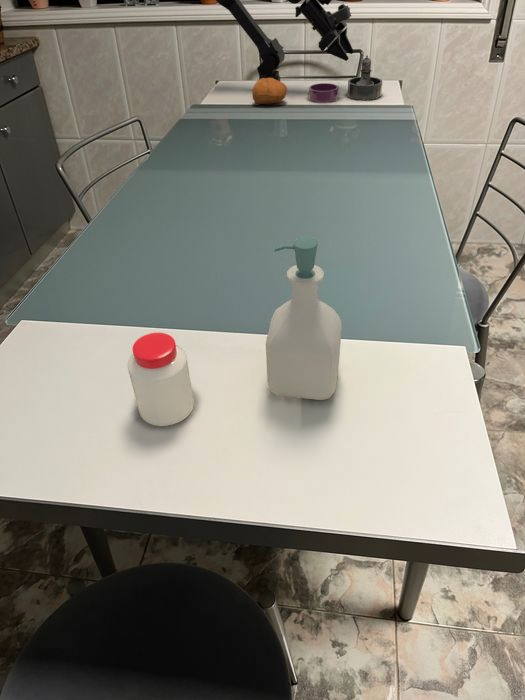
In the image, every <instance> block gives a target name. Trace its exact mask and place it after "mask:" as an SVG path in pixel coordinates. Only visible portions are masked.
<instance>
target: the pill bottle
mask: <svg viewBox="0 0 525 700" xmlns="http://www.w3.org/2000/svg"><path fill="white" fill-rule="evenodd" d="M131 351H132V354H131V355H130V357H129V358H128V361H127V371H128V375H129V378H130V383H131V387H132V390H133V394H134V398H135V402H136V406H137V411H138V413H139V416H140V417H141V419H142V420H143V421H144V422H145V423H148V424H150V425H152V426H157V427H167V426H172V425H175V424H178V423H180V422H182V421H183V420H185V419H186V418H187V417H189V415H190V414H191V413H192V412H193V409H194V407H195V400H194V394H193V393H194V391H193V388H192V387H193V386H192V381H191V376H190V375H191V374H190V369H189V362H188V357H187V354H186V351H185V350H184V349H183V348H182V347H180V346H179V345H178V344H176V340H175V338H174V337H173V336H172V335H170V334H168V333H164V332H151V333H147V334H143V335H142V336H140V337H139V338H137V339H136V340H135V342H134V343H133V344H132V350H131Z"/></svg>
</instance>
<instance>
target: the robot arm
mask: <svg viewBox="0 0 525 700" xmlns="http://www.w3.org/2000/svg"><path fill="white" fill-rule="evenodd" d="M215 1H216V3H218V4H219V5H220V6H221V7H223V8H225V9H226V10H227V11H228V12H229V13H230V14H231V15H232V17H233V18H234V19H235V20H236V22H237V23H238V25H239V26H240V27H241V29H242V30H243V31H244V33H246V34H247V36H248V38H249V39H250V40H251V41H252V43H253V44H254V46H255V47H256V48H257V51H258V54H259V57H260V59H261V61H262V62H261V63H260V64H259V65H258V66H257V67H256V68H257V69H256V70H257V72H258V80H260V79H262V78H273V79H275V80H278V81H280V82H281V76H280V71H279V69H280V66H281V64H283V63H284V61H285V58H286V57H285V56H286V53H285V51H284V46H282V45H281V44H280V42H279V41H278V39H277V38H276V37H275V38H273V39H271V38H269V37H268V36H267V34H265V32H264V31H263V29H262V28H261V27H260V25H259V24H258V23H257V21H256V20H255V19H254V17H253V16H252V15H251V14H250V12H249V11H248V9H247V8H246V7H245V5H244V4H243V3H242V2H241V0H215ZM286 1H287V2H288V3H290V4H292V5H293V4H294V5H297V4H298V3H300V2H302V1H303V0H286ZM332 1H333V0H304V1H303V2H302V3H301V4H300V5H297V6H295V9H294V10H295V15H294V17H295V18H298V17H300V16H301V14H302V16H304V18H305V19H306V20H307V21H308V23H309V24H310V25H311V26H312V27H311V29H312V30H313V31H316V32H317V33H318V35H319V36H320V37H321V38H320V40H319V42H318V48H319V50H320V51H321V52H324V53H326V54H329V55H331V56H334V57H336V58H338V59H341V60H343V61H345V62H347V61H348V60H349V56H348V54H350V55H353V53H354V52H355V50H354V49H353V47H352V44H351V41H350V40H349V37H348V24H347V23H346V21H347V20H349V19H350V18H351V17H352V13H351V8H350V7H349V5H345V4H344V3H341V4H340V5H338V7H337V10H336V11H334V12H333V13H331V11H330V10H329V11H328V10H327V11H326V9H325V8H324V7H323V6H324V5H326V6H329V4H331V2H332ZM347 53H348V54H347Z"/></svg>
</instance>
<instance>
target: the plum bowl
mask: <svg viewBox="0 0 525 700" xmlns="http://www.w3.org/2000/svg"><path fill="white" fill-rule="evenodd" d="M338 99H339V86H338V85H337V84H334V83H326V82H321V83H314V84H311V85H310V86H309V87H308V100H309V101H310V102H313V103H317V104H318V103H319V104H327V103H333V102H336V101H337V100H338Z"/></svg>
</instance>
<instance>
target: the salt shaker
mask: <svg viewBox="0 0 525 700" xmlns="http://www.w3.org/2000/svg"><path fill="white" fill-rule="evenodd" d="M371 73H372V59H370V57H369V55H365V58H363V59H362V61H361V69H360V77H361V79H360V81H358V82H357V83H356V84H357V85H373V84H374V82H372V81H371V80H370V77H371Z"/></svg>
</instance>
